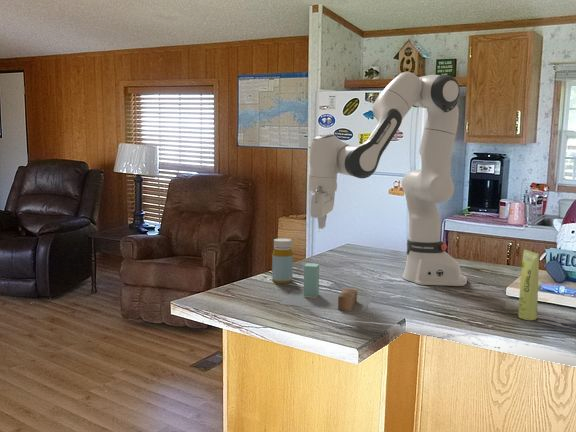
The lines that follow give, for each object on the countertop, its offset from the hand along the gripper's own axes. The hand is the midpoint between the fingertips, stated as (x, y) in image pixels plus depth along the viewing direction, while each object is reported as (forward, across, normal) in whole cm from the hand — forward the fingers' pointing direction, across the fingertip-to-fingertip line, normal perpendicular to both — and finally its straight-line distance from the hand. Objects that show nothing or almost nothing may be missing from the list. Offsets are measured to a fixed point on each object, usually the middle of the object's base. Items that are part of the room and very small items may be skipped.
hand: (321, 228), depth 187 cm
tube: (+21, -10, -62) cm, 67 cm away
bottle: (+22, +9, +15) cm, 28 cm away
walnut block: (+19, -9, -11) cm, 24 cm away
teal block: (+21, -6, +2) cm, 22 cm away
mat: (+21, -10, -4) cm, 24 cm away
